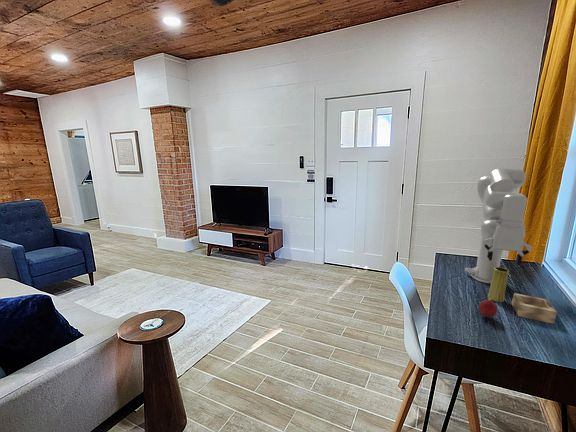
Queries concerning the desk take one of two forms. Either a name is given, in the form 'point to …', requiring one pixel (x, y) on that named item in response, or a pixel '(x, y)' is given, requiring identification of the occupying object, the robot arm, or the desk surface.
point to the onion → (488, 308)
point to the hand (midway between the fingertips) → (503, 261)
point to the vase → (498, 284)
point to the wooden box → (534, 308)
